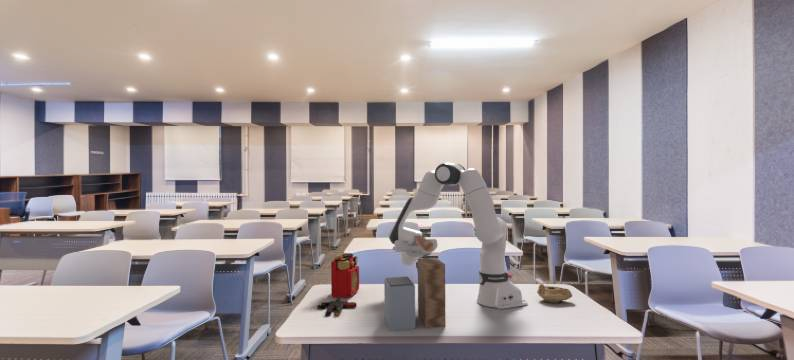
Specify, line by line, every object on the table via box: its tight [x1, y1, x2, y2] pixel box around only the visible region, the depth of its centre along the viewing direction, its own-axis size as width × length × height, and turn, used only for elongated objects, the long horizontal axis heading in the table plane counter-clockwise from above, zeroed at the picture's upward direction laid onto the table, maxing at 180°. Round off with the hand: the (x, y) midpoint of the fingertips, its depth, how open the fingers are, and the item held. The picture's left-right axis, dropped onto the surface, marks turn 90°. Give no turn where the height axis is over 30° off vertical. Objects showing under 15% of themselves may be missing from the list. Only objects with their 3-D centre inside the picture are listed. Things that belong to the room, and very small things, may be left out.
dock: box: [383, 276, 416, 332], centre depth 147 cm, size 10×12×17 cm
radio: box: [330, 253, 360, 299], centre depth 187 cm, size 16×10×20 cm, turn 168°
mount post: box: [417, 257, 447, 329], centre depth 149 cm, size 8×12×24 cm, turn 10°
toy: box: [316, 297, 357, 317], centre depth 164 cm, size 15×16×3 cm
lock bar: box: [414, 236, 434, 252], centre depth 162 cm, size 3×22×3 cm, turn 10°
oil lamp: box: [536, 283, 573, 304], centre depth 173 cm, size 11×15×8 cm
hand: (418, 239), depth 169 cm, fingers closed on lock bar, 3 cm apart
